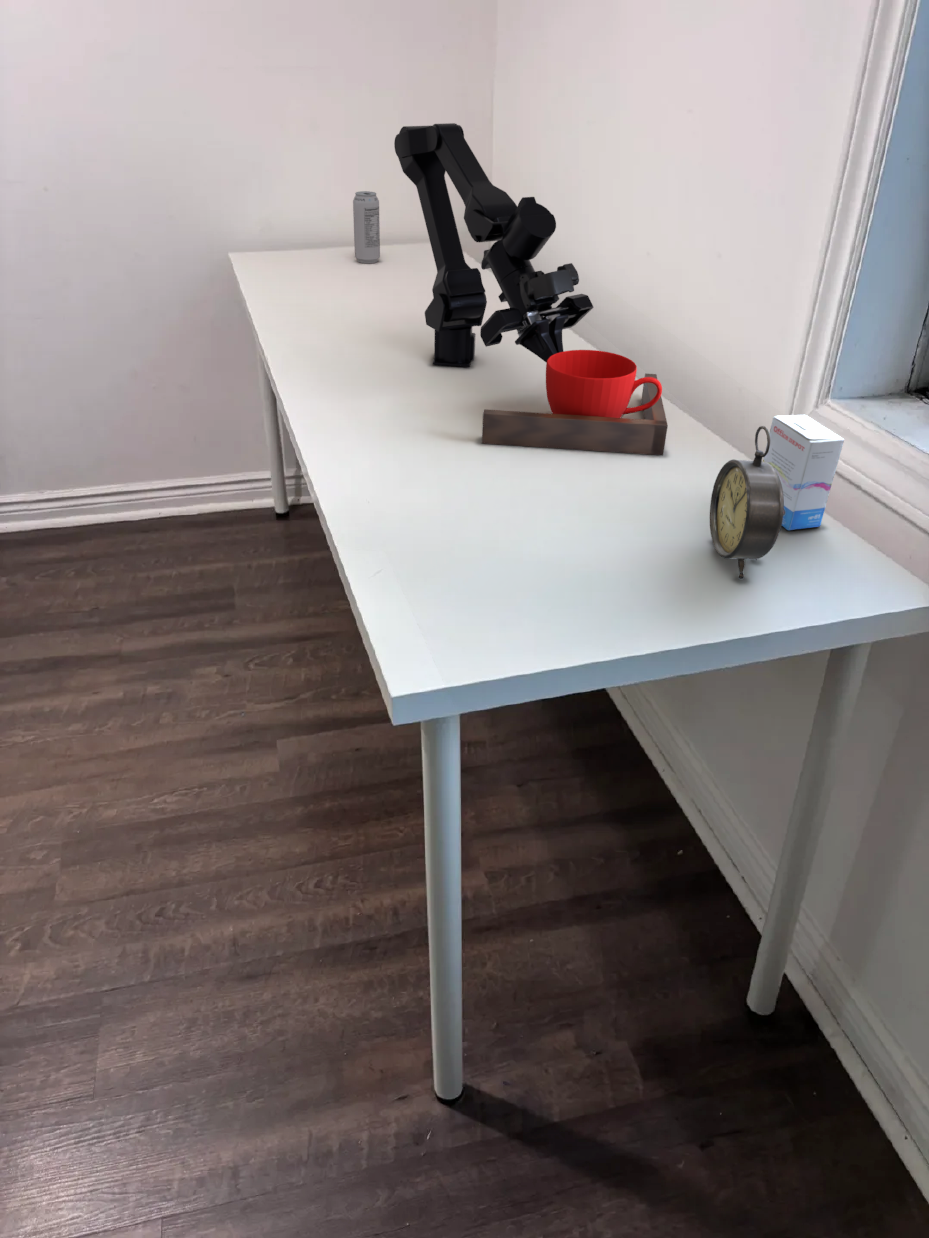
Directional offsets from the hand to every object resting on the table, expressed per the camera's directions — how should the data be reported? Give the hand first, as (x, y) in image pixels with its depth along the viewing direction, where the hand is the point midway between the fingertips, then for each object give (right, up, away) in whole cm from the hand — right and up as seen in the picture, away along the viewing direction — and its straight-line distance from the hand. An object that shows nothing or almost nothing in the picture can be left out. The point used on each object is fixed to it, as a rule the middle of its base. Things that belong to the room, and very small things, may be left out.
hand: (561, 369), depth 142 cm
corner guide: (+2, -7, +2) cm, 8 cm away
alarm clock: (+17, -31, -32) cm, 48 cm away
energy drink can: (-38, +48, +84) cm, 104 cm away
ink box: (+26, -24, -22) cm, 42 cm away
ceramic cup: (+5, -10, -1) cm, 11 cm away
